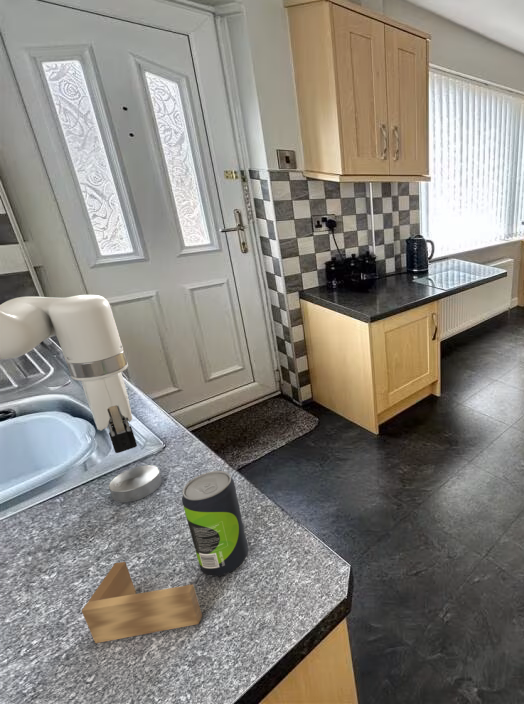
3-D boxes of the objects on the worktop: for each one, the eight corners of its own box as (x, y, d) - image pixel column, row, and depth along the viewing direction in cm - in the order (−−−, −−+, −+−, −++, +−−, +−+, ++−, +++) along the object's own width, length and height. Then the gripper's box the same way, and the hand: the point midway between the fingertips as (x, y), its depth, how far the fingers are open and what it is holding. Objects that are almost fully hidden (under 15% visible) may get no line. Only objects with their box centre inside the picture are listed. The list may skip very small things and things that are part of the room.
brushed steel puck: (103, 505, 74) (99, 494, 73) (126, 478, 81) (123, 467, 80) (150, 499, 76) (146, 488, 75) (169, 473, 82) (166, 463, 81)
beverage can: (256, 559, 66) (240, 482, 61) (210, 587, 61) (189, 507, 56) (239, 537, 69) (222, 463, 64) (194, 563, 65) (173, 485, 60)
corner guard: (95, 643, 54) (81, 610, 52) (126, 593, 60) (114, 562, 58) (198, 624, 56) (189, 592, 54) (218, 578, 63) (210, 548, 61)
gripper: (65, 356, 78) (95, 439, 84) (72, 385, 68) (104, 476, 75) (119, 345, 83) (143, 424, 89) (132, 371, 73) (158, 457, 80)
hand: (126, 448), depth 82 cm, fingers closed
